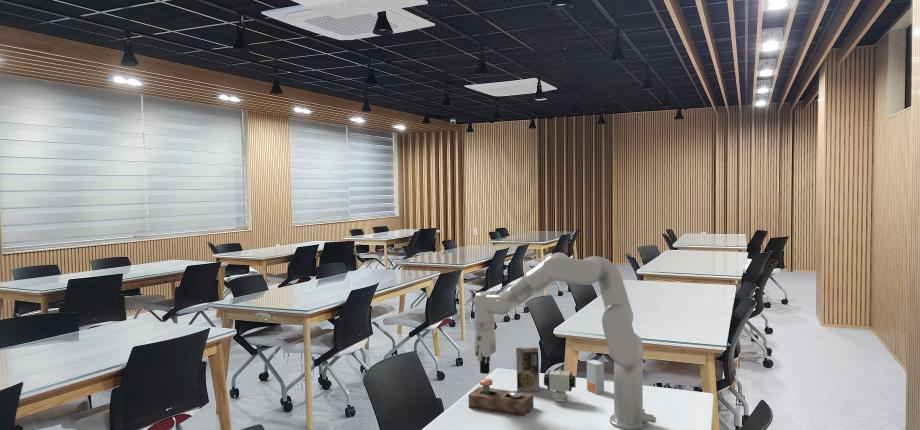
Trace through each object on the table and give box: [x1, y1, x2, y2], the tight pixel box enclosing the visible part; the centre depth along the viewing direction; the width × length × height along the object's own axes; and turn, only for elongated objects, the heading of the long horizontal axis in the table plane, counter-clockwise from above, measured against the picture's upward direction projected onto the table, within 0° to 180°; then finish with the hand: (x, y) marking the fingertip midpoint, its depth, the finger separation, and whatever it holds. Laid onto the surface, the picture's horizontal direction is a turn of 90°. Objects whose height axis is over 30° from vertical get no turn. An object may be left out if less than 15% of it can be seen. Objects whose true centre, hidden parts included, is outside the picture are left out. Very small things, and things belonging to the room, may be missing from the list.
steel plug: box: [509, 390, 523, 399], centre depth 223 cm, size 5×5×5 cm
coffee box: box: [515, 347, 540, 392], centre depth 246 cm, size 9×6×16 cm
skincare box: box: [586, 359, 605, 395], centre depth 241 cm, size 6×4×12 cm
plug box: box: [468, 386, 534, 418], centre depth 226 cm, size 22×10×5 cm, turn 64°
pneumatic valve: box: [543, 369, 577, 403], centre depth 232 cm, size 6×12×12 cm, turn 74°
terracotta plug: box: [479, 378, 493, 395], centre depth 228 cm, size 5×5×5 cm
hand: (484, 372), depth 228 cm, fingers closed
